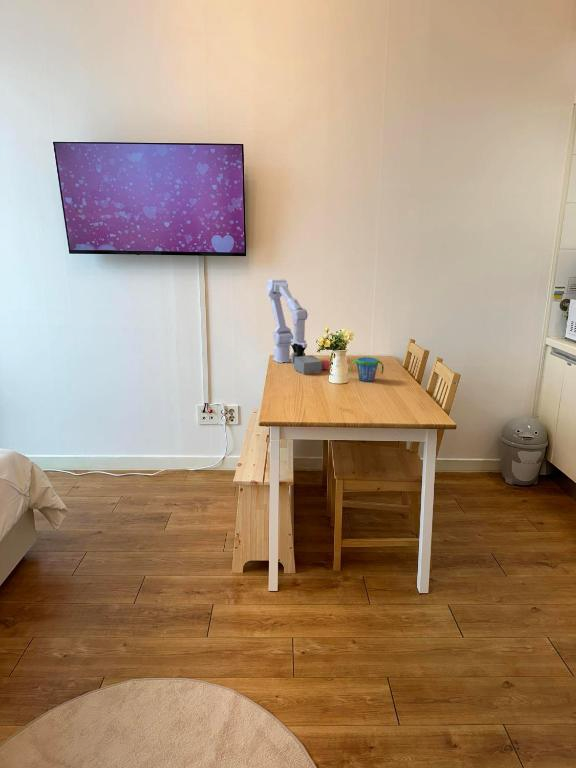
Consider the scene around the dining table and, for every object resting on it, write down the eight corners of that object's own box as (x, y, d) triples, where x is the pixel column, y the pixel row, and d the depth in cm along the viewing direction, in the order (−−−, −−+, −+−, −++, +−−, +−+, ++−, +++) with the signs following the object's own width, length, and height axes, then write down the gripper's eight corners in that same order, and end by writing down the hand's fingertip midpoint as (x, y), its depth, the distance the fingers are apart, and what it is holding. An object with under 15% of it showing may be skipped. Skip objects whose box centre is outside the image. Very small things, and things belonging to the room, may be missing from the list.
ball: (318, 369, 290) (318, 359, 289) (326, 368, 292) (326, 358, 291) (323, 371, 286) (323, 361, 284) (331, 370, 288) (332, 360, 287)
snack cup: (349, 381, 267) (351, 361, 265) (350, 376, 277) (351, 356, 275) (383, 383, 265) (384, 362, 263) (382, 378, 275) (383, 357, 273)
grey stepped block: (288, 364, 292) (288, 353, 290) (305, 362, 297) (306, 351, 295) (303, 374, 278) (304, 363, 276) (321, 372, 283) (322, 361, 281)
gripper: (312, 334, 284) (311, 360, 288) (299, 329, 297) (298, 355, 300) (300, 335, 281) (299, 362, 285) (287, 330, 294) (286, 356, 297)
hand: (298, 358), depth 292 cm, fingers closed on grey stepped block, 2 cm apart
